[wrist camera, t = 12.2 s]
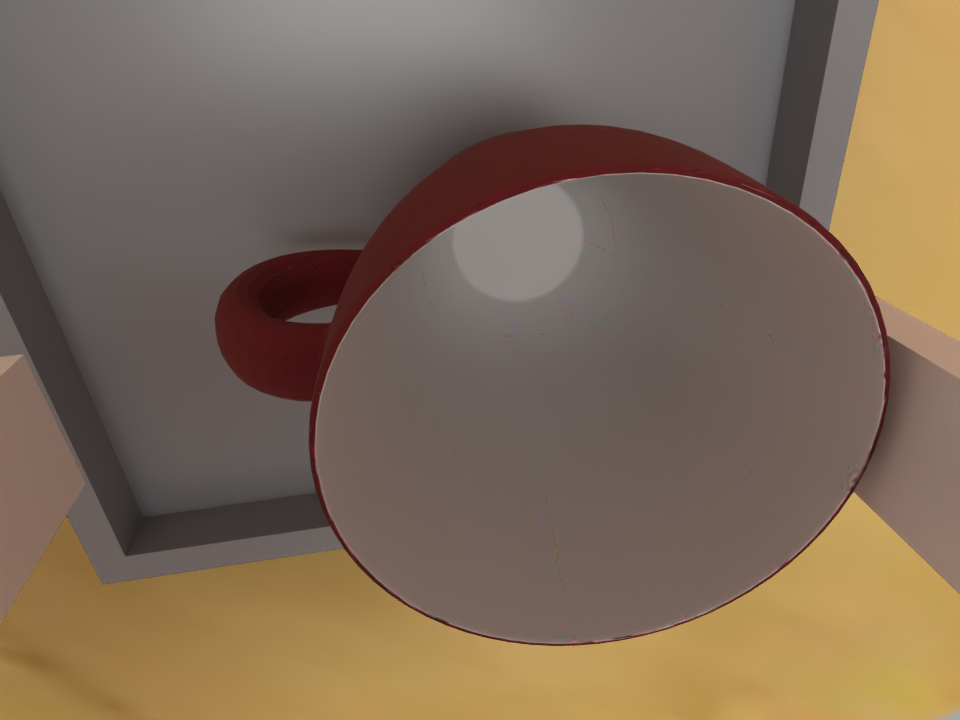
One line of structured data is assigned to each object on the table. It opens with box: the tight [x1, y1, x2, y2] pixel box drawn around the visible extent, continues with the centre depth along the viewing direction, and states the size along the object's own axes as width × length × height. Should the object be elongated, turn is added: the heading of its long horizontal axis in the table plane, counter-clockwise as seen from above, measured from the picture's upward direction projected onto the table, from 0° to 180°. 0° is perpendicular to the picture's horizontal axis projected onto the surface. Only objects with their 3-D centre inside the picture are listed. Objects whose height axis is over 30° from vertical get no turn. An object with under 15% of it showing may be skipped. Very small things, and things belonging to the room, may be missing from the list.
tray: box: [0, 0, 879, 584], centre depth 17 cm, size 22×18×2 cm
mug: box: [215, 124, 890, 646], centre depth 13 cm, size 11×8×10 cm
